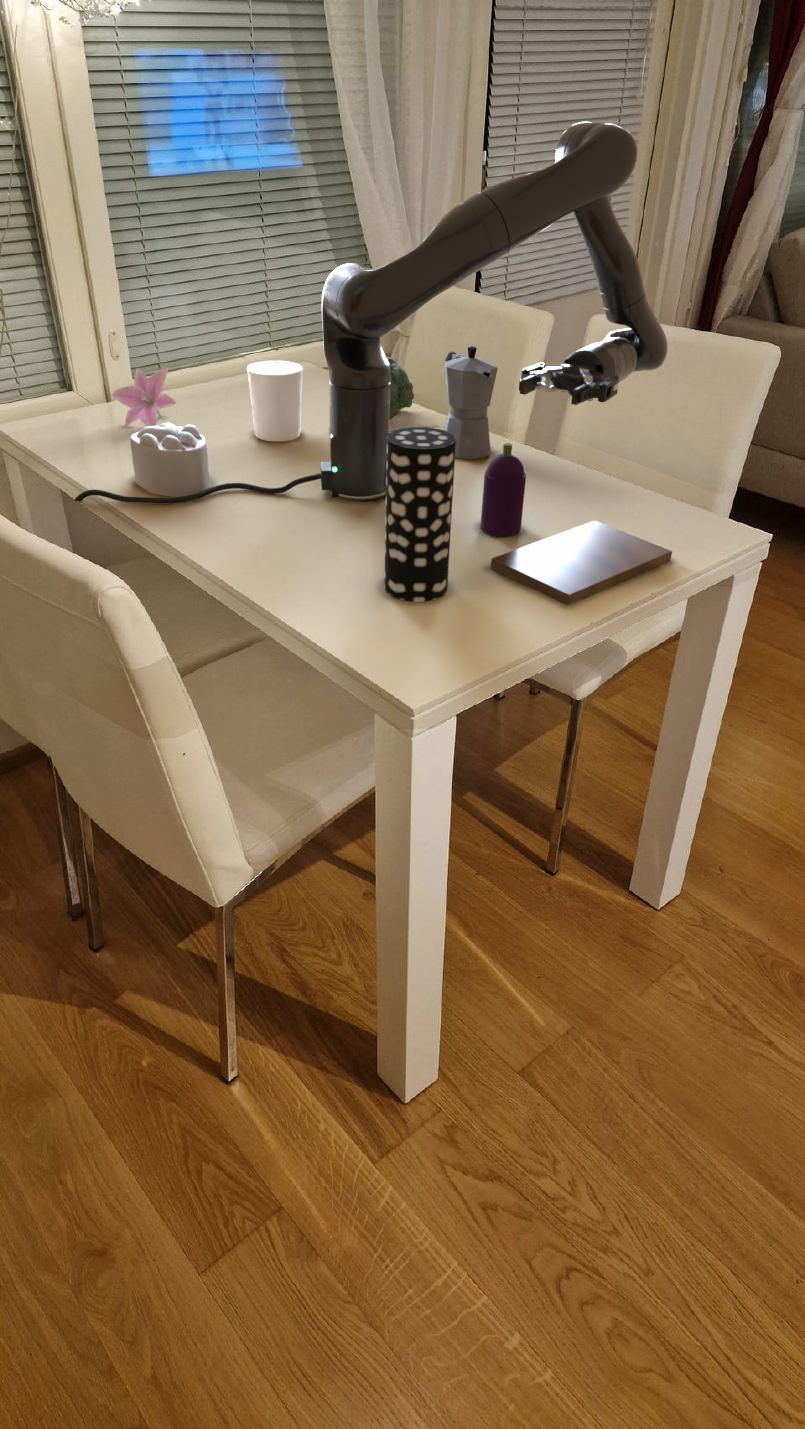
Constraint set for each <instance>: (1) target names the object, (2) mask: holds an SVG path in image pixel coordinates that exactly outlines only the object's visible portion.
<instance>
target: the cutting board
mask: <svg viewBox="0 0 805 1429" xmlns="http://www.w3.org/2000/svg"><path fill="white" fill-rule="evenodd" d="M672 554H673V550H670V549H668V548H665V547H663V546H661V545H658V544H655V543H653V542H650V541H648V540H645V539H643V538H640V537H637V536H635V535H632V534H630V533H627V532H626V531H622V530H620V529H617V528H615V527H613V526H610V525H607V524H605V523H603V522H600V521H597V520H592V521H590V522H587V523H584V524H581V525H579V526H576V527H573V528H570V529H568V530H564V531H562V532H559V533H557V534H554V535H551V536H549V537H546V538H543V539H540V540H538V541H534V542H532V543H530V544H527V545H524V546H521V547H519V548H516V549H512V550H510V551H508V552H505V553H502V554H499V555H496V556H494V557H491V559H490V569H491V570H493V571H495V572H498V573H499V574H500V575H501V574H502V575H503V576H505V577H508V578H510V579H511V580H514V581H516V582H518V583H520V584H522V585H525V586H527V587H529V588H530V589H533V590H535V591H537V592H539V593H541V594H543V595H545V596H547V597H550V598H552V599H554V600H555V601H558V602H560V603H562V604H564V605H566V606H569V605H572V604H574V603H576V602H579V601H581V600H583V599H585V598H588V597H591V596H593V595H595V594H597V593H600V592H602V591H604V590H606V589H608V588H611V587H613V586H616V585H618V584H621V583H622V582H625V581H627V580H629V579H632V578H635V577H636V576H639V575H641V574H643V573H647V572H648V571H650V570H652V569H655V568H657V567H660V566H663V565H664V564H667V563H669V562H671V560H672Z"/></svg>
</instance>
